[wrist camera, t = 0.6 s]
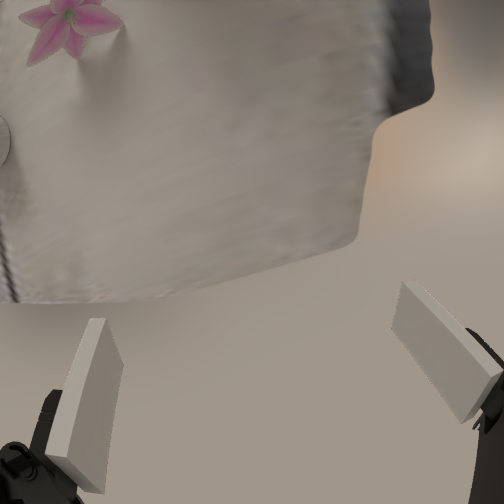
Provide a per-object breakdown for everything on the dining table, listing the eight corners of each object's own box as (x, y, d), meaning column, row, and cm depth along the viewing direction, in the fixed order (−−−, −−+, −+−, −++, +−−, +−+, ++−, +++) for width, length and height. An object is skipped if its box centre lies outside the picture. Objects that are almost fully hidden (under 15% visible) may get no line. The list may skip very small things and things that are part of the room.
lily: (36, 74, 28) (27, 88, 22) (20, -3, 19) (6, -10, 13) (122, 42, 31) (135, 48, 26) (111, -34, 23) (123, -49, 17)
